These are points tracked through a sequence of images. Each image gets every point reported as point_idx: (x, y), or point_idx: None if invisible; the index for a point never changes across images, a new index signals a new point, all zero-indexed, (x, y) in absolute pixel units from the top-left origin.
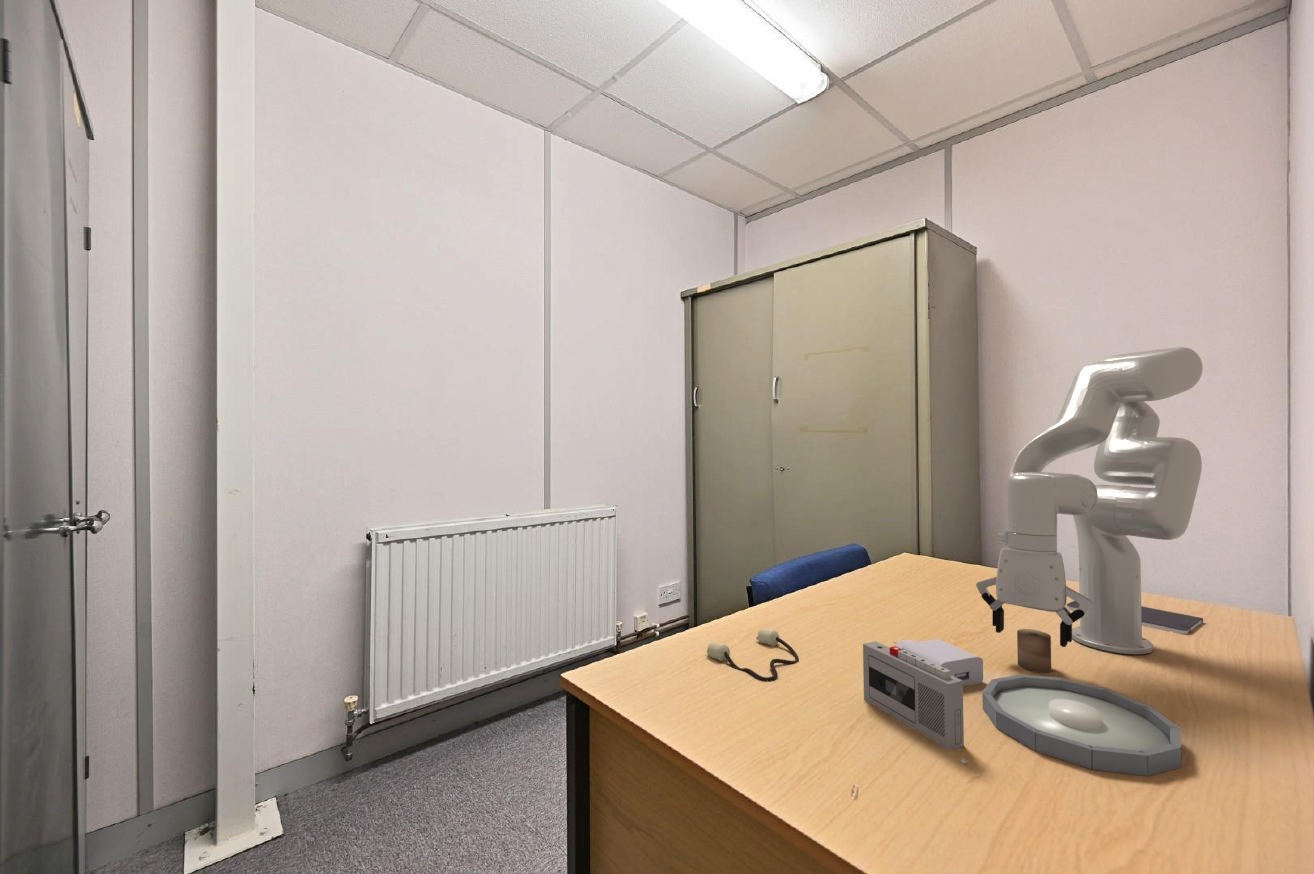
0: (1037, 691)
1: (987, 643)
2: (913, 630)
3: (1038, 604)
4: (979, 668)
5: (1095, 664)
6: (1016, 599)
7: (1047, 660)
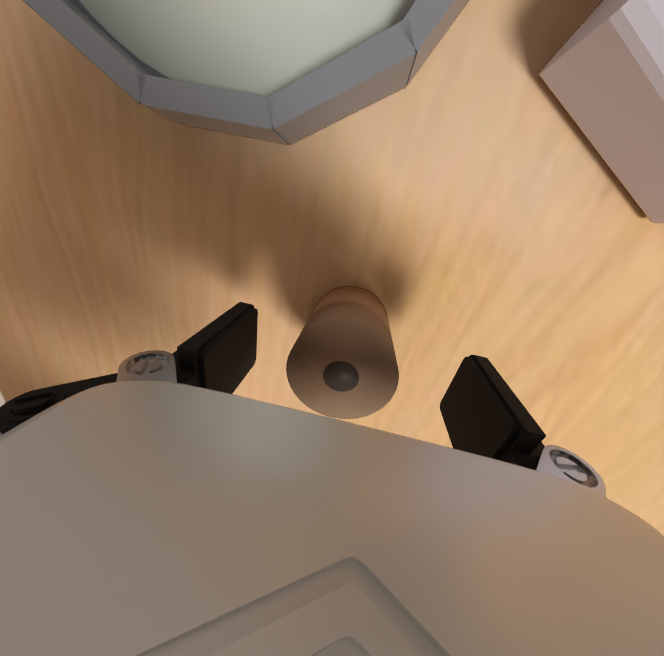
0: (356, 4)
1: (443, 426)
2: (641, 448)
3: (255, 433)
4: (602, 15)
5: (235, 392)
6: (483, 506)
7: (314, 310)
